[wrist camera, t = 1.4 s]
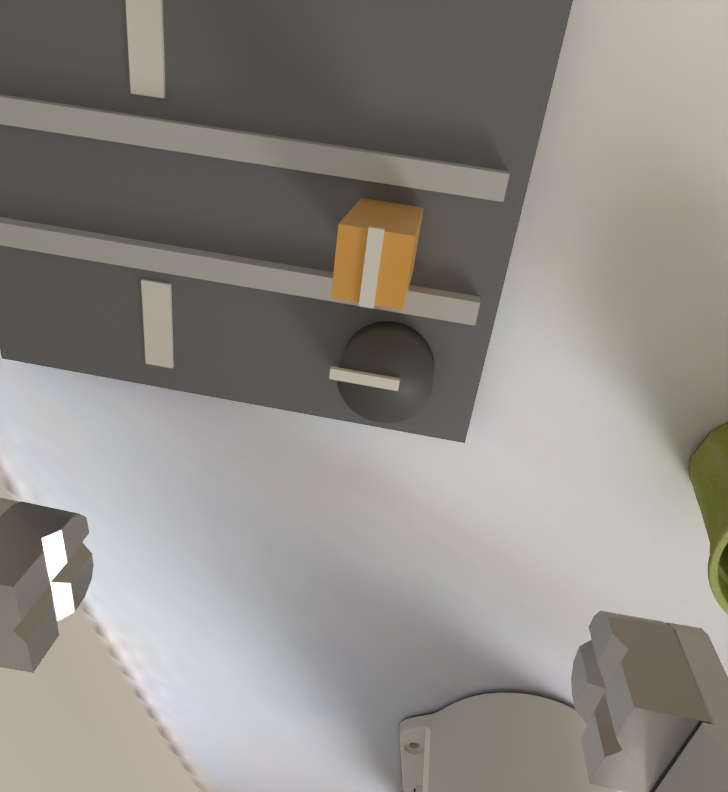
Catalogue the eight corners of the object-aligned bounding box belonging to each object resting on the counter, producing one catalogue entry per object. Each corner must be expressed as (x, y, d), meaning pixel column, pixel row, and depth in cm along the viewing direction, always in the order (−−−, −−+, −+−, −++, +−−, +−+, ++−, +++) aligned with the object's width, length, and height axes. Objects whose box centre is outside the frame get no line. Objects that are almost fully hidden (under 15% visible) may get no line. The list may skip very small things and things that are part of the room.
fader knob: (413, 271, 30) (402, 313, 24) (353, 261, 30) (329, 301, 24) (424, 205, 28) (415, 234, 23) (361, 195, 28) (337, 222, 23)
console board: (464, 425, 36) (464, 465, 32) (23, 345, 38) (-26, 374, 34) (570, -15, 25) (589, -32, 22) (-48, -95, 27) (-130, -123, 24)
